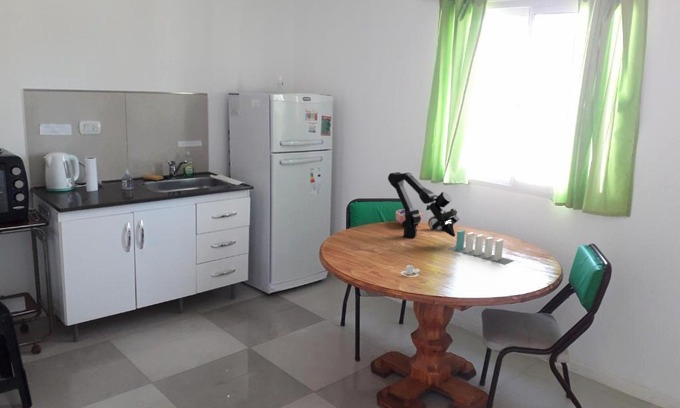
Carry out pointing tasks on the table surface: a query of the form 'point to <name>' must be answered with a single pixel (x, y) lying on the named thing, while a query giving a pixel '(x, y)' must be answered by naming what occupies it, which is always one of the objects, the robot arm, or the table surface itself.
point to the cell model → (403, 215)
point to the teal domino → (460, 240)
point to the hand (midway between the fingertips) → (454, 236)
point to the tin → (432, 221)
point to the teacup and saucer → (410, 271)
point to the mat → (501, 261)
